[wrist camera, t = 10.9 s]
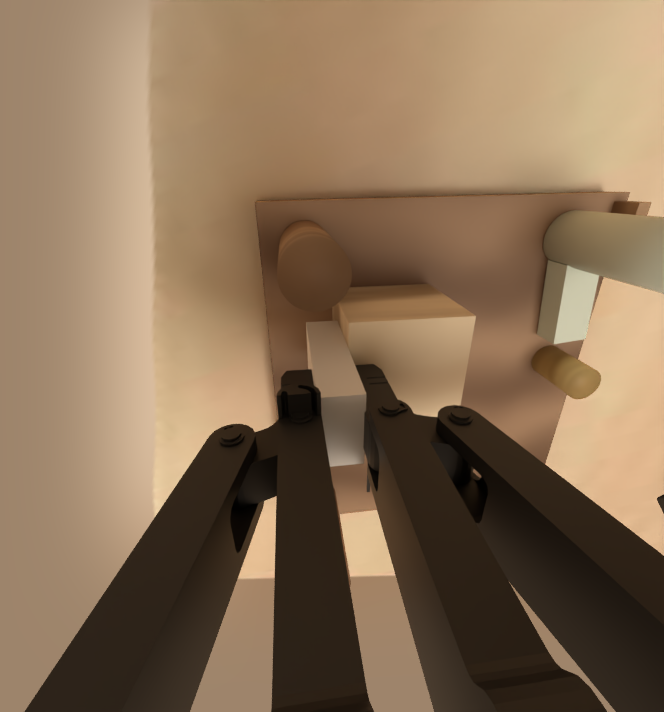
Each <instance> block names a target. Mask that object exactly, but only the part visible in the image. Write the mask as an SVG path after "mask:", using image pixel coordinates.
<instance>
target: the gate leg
mask: <svg viewBox="0 0 664 712" xmlns="http://www.w3.org/2000/svg"><path fill="white" fill-rule="evenodd" d="M543 249H544V253H545V255H546V257H547V258H548V259H549V260H548V264H547V271H546V277H545V284H544V291H543V297H542V304H541V311H540V317H539V324H538V331H537V335H539V336H540V337H542V338H544V339H545V340H547V341H549V342H550V343H552V344H559V343H565V342H571V341H577V340H583V339H586V334H587V330H588V325H589V320H590V316H591V311H592V307H593V302H594V297H595V293H596V288H597V284H598V279H599V276H603V277H606V278H610V279H613V280H617V281H620V282H624V283H627V284H631V285H634V286H638V287H642V288H645V289H649V290H652V291H656V292H659V293H663V294H664V217H656V216H643V215H631V214H618V213H606V212H594V211H581V210H572V211H568V212H565V213H563V214H562V215H560V216H559V217H557V218H556V219H555V220H554V221H553V222H552V224H551V225H550V226H549V228H548V230H547V232H546V234H545V237H544V242H543Z"/></svg>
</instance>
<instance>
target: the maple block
mask: <svg viewBox="0 0 664 712" xmlns="http://www.w3.org/2000/svg"><path fill="white" fill-rule="evenodd" d="M475 320H476V316H475V315H474V314H472V313H471V312H469V311H468V310H466V309H465V308H464V307H462V306H461V305H459V304H458V303H456V302H455V301H453V300H452V299H450V298H449V297H447V296H446V295H444V294H443V293H441V292H440V291H438V290H437V289H435V288H434V287H433V286H431V285H430V284H415V285H392V286H369V287H349V290H348V292H347V294H346V295H345V297H344V298H343V299H342V300H341V301H340V302H339V303H338V304H336V305H335V306H334V307H332V321H338V323H339V326H340V328H341V331H342V333H343V336H344V338H345V341H346V343H347V346H348V348H349V351H350V354H351V356H352V359H353V361H354V364H355V365H366V364H374V365H376V366H377V367H379V368H380V369H382V371H383V373H384V375H385V378H386V379H387V380H388V383H389V384H390V386H391V388H392V390H393V392H394V394H395V396H396V398H397V399H398V400H401V401H403V402H405V403H407V404H408V405H409V407H410V408H411V409H412V411H413V413H414V414H417V415H423V416H431V417H437V415H438V411H439V410H440V409H441V408H443V407H445V406H450V405H458V406H459V405H461V399H462V394H463V388H464V382H465V377H466V371H467V365H468V360H469V354H470V348H471V342H472V337H473V331H474V325H475Z"/></svg>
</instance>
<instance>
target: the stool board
mask: <svg viewBox="0 0 664 712" xmlns="http://www.w3.org/2000/svg"><path fill="white" fill-rule="evenodd" d="M629 194H630V192H576V193H538V194H500V195H462V196H424V197H386V198H348V199H310V200H271V201H256V202H255V207H256V217H257V226H258V236H259V245H260V255H261V265H262V274H263V284H264V293H265V303H266V312H267V322H268V331H269V341H270V350H271V360H272V369H273V379H274V388H275V398H276V395H277V393H278V391H279V390H280V389H281V377H282V376H283V374H284V373H285V372H286V371H290V370H305V369H308V354H307V333H306V322H319V321H332V307H334V306H335V305H336V304H338V303H339V302H340V301H341V300H342V299H343V298H344V297H345V295H346V294H347V292H348V290H349V287H369V286H392V285H415V284H430V285H431V286H433V287H434V288H435V289H437V290H438V291H440V292H441V293H443V294H444V295H446V296H447V297H449V298H450V299H452V300H453V301H455V302H456V303H458V304H459V305H461V306H462V307H464V308H465V309H466V310H468V311H469V312H471V313H472V314H474V315H475V316H476V320H475V325H474V331H473V337H472V342H471V348H470V354H469V360H468V365H467V371H466V377H465V382H464V388H463V394H462V399H461V405H460V406H464V407H467V408H471V409H472V410H474V411H476V412H478V413H479V414H480V415H482V416H483V417H484V418H485V419H487V420H488V421H489V422H491V423H492V424H493V425H495V426H496V427H497V428H498V429H500V430H501V431H502V432H504V433H505V434H506V435H508V436H509V437H510V438H511V439H513V440H514V441H515V442H517V443H518V444H519V445H521V446H522V447H523V448H524V449H526V450H527V451H528V452H530V453H531V454H532V455H534V456H535V457H536V458H537V459H539V460H540V461H541V462H543V463H544V464H545V463H546V459H547V456H548V453H549V450H550V447H551V443H552V440H553V437H554V434H555V431H556V427H557V424H558V421H559V418H560V415H561V411H562V408H563V405H564V402H565V399H566V395H569V396H570V397H572V398H574V399H582V398H585V397H588V396H589V395H591V394H592V393H593V392H594V391H595V390H596V389H597V388H598V386H599V384H600V381H601V376H600V373H599V372H598V371H597V370H595V369H593V368H591V367H590V366H588V365H586V364H585V363H583V362H581V361H580V360H578V357H579V354H580V350H581V347H582V344H583V341H584V339H583V340H577V341H571V342H565V343H559V344H552V343H550V342H549V341H547V340H545V339H544V338H542V337H540V336H539V335H537V331H538V324H539V317H540V311H541V304H542V297H543V291H544V284H545V277H546V271H547V264H548V260H549V259H548V258H547V257H546V255H545V253H544V249H543V242H544V237H545V234H546V232H547V230H548V228H549V226H550V225H551V224H552V222H553V221H554V220H555V219H556V218H557V217H559V216H560V215H562V214H563V213H565V212H568V211H572V210H581V211H594V212H606V213H618V214H631V215H643V216H647V214H648V211H649V208H650V205H651V202H634V201H627V200H628V197H629ZM602 280H603V276H599V279H598V284H597V288H596V293H595V297H594V302H593V307H592V311H591V315H592V312H593V309H594V306H595V302H596V299H597V296H598V293H599V290H600V286H601V283H602ZM590 318H591V316H590ZM589 322H590V320H589ZM276 407H277V398H276ZM277 417H278V409H277ZM367 462H368V461H367V458H366V455H365V453H364V463H363V464H353V465H343V466H332V467H330V470H331V476H332V482H333V488H334V494H335V500H336V506H337V513H338V519H339V525H340V531H341V537H342V543H343V549H344V555H345V561H346V567H347V573H348V579H349V586H350V584H351V581H350V575H349V569H348V563H347V558H346V552H345V546H344V540H343V534H342V528H341V522H340V516H339V514H344V513H353V512H362V511H370V510H377V507H376V504H375V500H374V497H373V493H372V490H371V486H370V492H367ZM473 472H474V473H475V474H476V475H477V476H478V477H480V478H481V475H480V474H479V473H478V472H477V471H476V470H475V469H474V470H473Z"/></svg>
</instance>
